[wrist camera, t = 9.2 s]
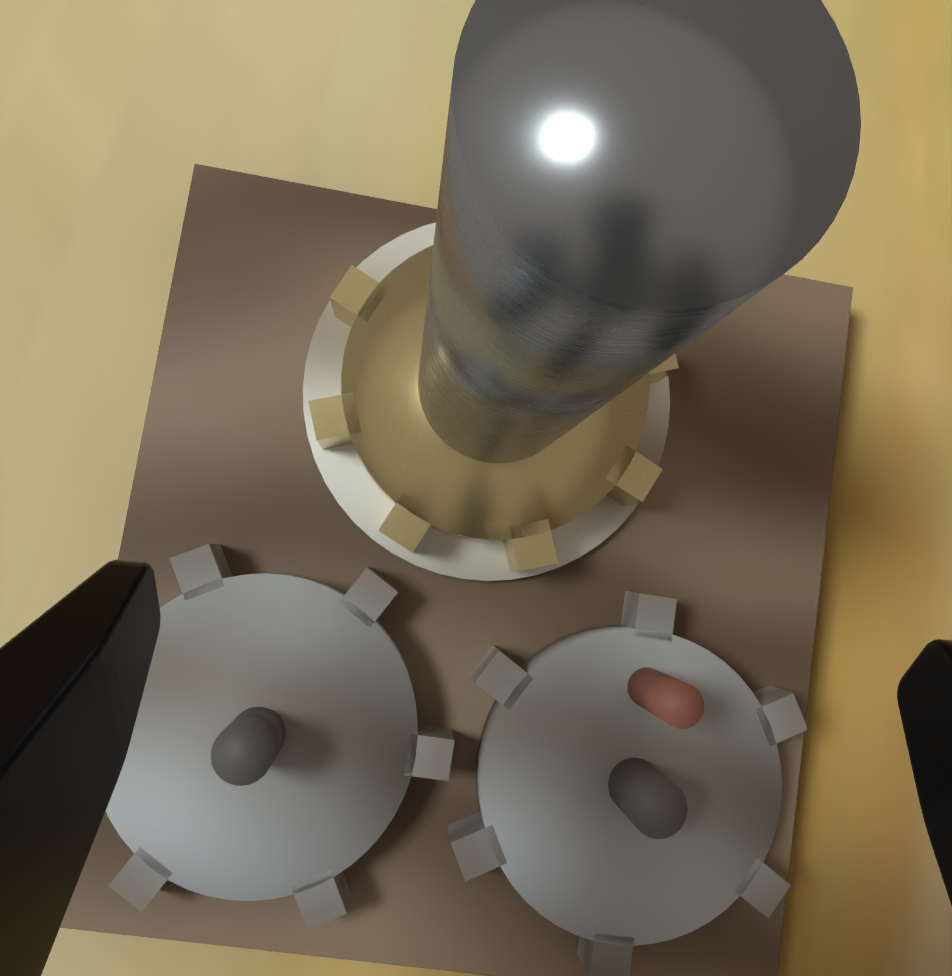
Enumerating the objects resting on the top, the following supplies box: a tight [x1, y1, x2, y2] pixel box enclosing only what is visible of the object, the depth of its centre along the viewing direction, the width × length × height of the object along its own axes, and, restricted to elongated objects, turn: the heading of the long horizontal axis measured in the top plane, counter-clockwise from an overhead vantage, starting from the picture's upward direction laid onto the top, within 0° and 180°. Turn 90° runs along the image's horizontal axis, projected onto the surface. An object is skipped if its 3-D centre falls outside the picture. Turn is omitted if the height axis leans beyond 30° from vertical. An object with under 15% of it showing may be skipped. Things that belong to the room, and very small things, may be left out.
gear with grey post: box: [308, 0, 861, 572], centre depth 13 cm, size 8×8×13 cm
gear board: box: [60, 164, 853, 976], centre depth 19 cm, size 18×17×5 cm
